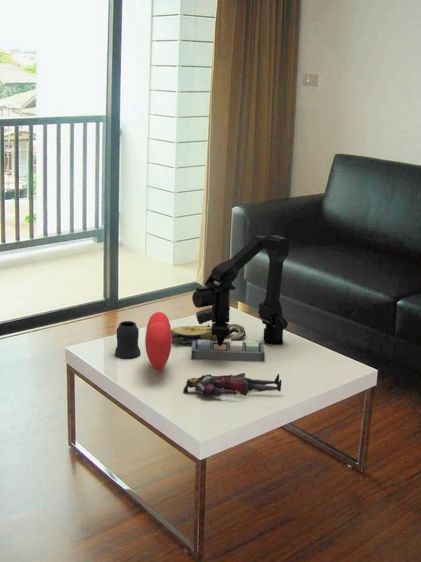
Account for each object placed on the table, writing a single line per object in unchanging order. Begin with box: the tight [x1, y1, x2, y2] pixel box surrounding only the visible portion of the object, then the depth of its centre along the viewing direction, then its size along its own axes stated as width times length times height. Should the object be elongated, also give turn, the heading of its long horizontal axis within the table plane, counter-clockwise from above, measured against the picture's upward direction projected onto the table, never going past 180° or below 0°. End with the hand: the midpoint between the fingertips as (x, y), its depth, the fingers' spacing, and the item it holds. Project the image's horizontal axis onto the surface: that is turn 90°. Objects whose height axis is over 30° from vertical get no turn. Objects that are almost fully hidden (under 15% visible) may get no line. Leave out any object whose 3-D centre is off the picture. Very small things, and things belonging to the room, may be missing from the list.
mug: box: [114, 320, 142, 360], centre depth 257 cm, size 12×9×11 cm
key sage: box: [245, 341, 259, 352], centre depth 258 cm, size 4×4×2 cm
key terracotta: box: [213, 344, 226, 351], centre depth 259 cm, size 4×4×2 cm
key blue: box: [197, 340, 210, 350], centre depth 258 cm, size 4×4×2 cm
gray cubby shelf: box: [190, 340, 266, 363], centre depth 259 cm, size 25×10×3 cm, turn 89°
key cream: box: [229, 340, 243, 351], centre depth 258 cm, size 4×4×2 cm
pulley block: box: [171, 323, 247, 344], centre depth 272 cm, size 14×6×30 cm
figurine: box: [183, 372, 282, 397], centre depth 230 cm, size 13×6×30 cm
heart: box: [144, 311, 173, 373], centre depth 241 cm, size 20×9×19 cm, turn 3°
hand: (219, 345), depth 258 cm, fingers closed
